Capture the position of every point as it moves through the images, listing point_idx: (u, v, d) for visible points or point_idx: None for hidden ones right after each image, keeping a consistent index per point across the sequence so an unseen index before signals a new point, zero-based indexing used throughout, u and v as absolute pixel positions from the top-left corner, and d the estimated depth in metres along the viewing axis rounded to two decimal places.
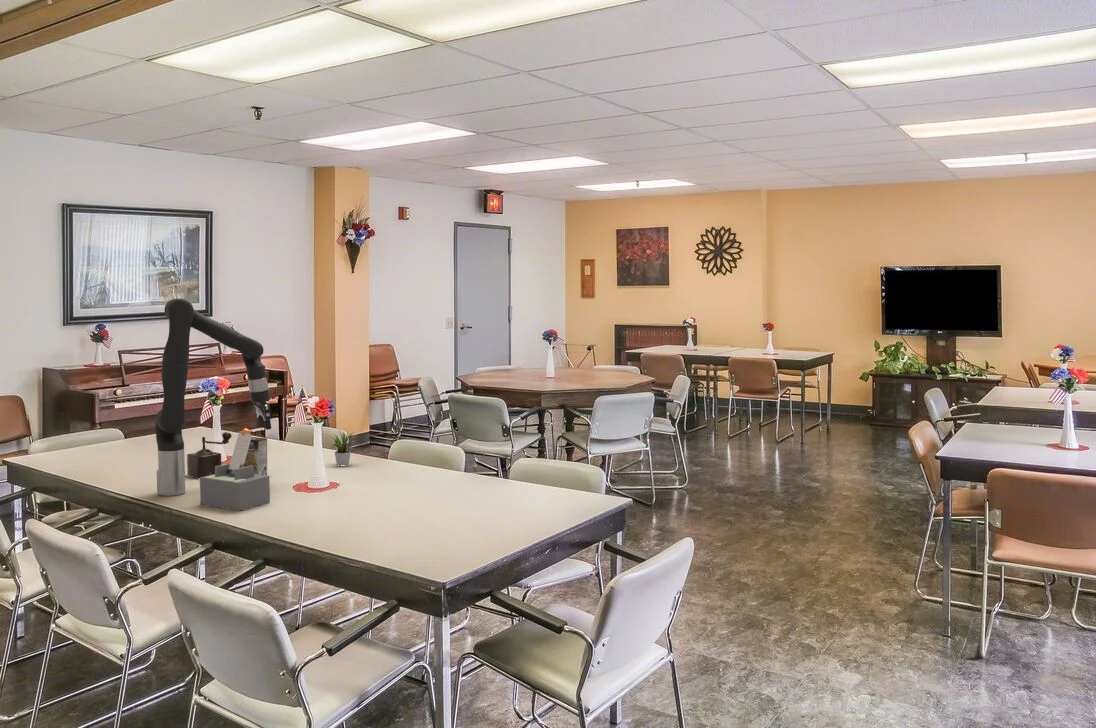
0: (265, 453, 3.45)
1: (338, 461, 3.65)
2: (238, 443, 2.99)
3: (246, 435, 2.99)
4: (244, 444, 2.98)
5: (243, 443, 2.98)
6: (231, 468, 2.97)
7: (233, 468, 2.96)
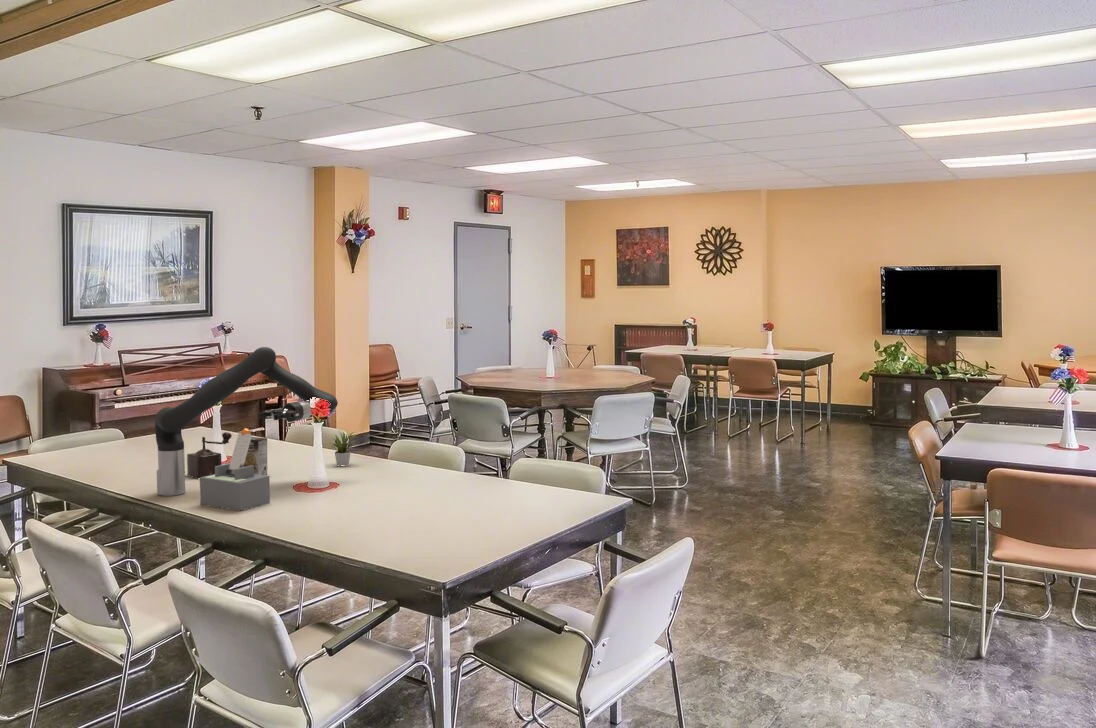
0: (265, 453, 3.45)
1: (338, 461, 3.65)
2: (238, 443, 2.99)
3: (246, 435, 2.99)
4: (244, 444, 2.98)
5: (243, 443, 2.98)
6: (231, 468, 2.97)
7: (233, 468, 2.96)
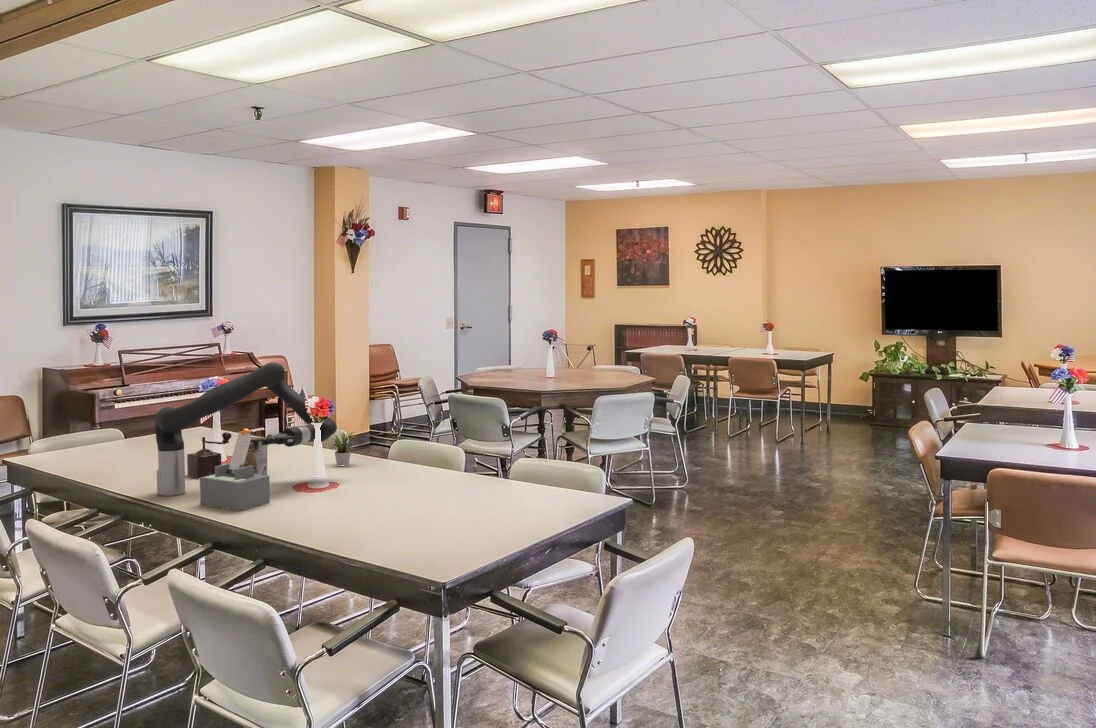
0: (265, 453, 3.45)
1: (338, 461, 3.65)
2: (238, 443, 2.99)
3: (246, 435, 2.99)
4: (244, 444, 2.98)
5: (243, 443, 2.98)
6: (231, 468, 2.97)
7: (233, 468, 2.96)
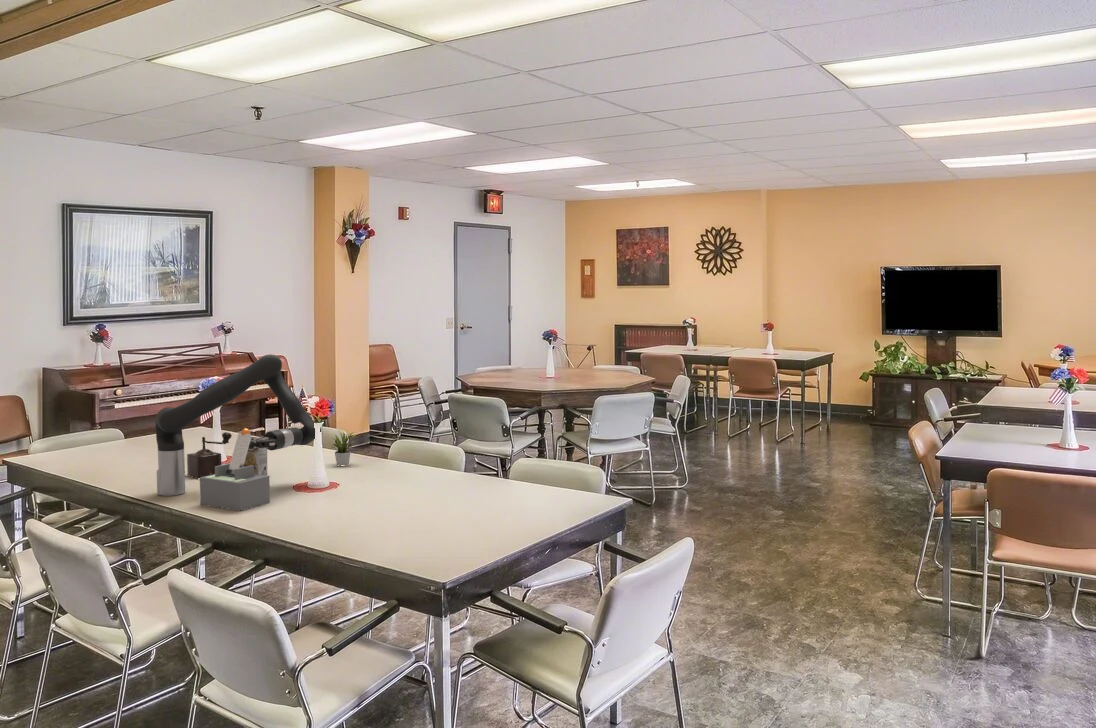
0: (265, 453, 3.45)
1: (338, 461, 3.65)
2: (238, 443, 2.99)
3: (246, 435, 2.99)
4: (244, 444, 2.98)
5: (243, 443, 2.98)
6: (231, 468, 2.97)
7: (233, 468, 2.96)
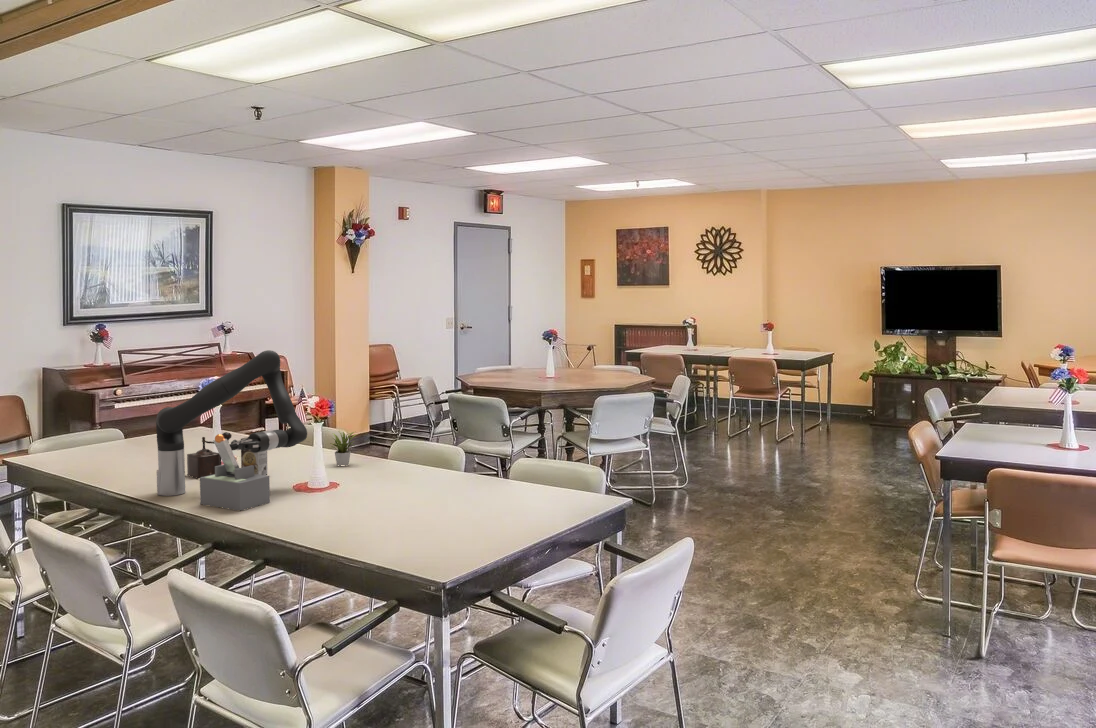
0: (265, 453, 3.45)
1: (338, 461, 3.65)
2: (220, 449, 2.92)
3: (222, 442, 2.89)
4: (226, 450, 2.90)
5: (224, 449, 2.90)
6: (229, 470, 2.96)
7: (231, 471, 2.95)
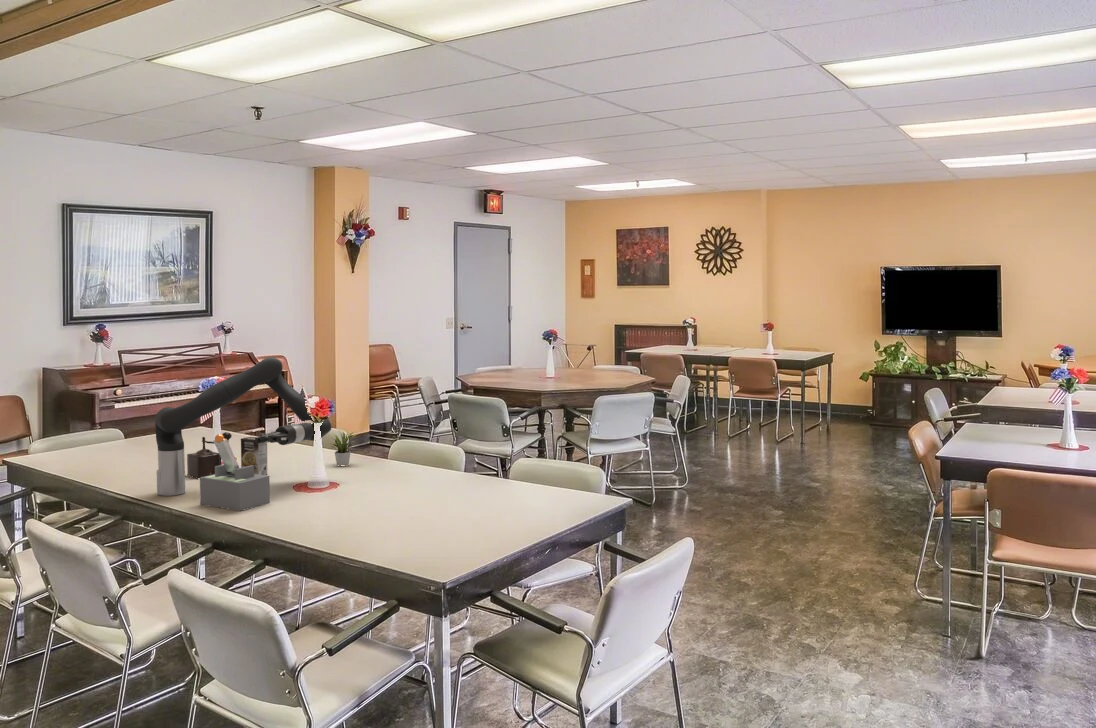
0: (265, 453, 3.45)
1: (338, 461, 3.65)
2: (220, 449, 2.92)
3: (222, 442, 2.89)
4: (226, 450, 2.90)
5: (224, 449, 2.90)
6: (229, 470, 2.96)
7: (231, 471, 2.95)
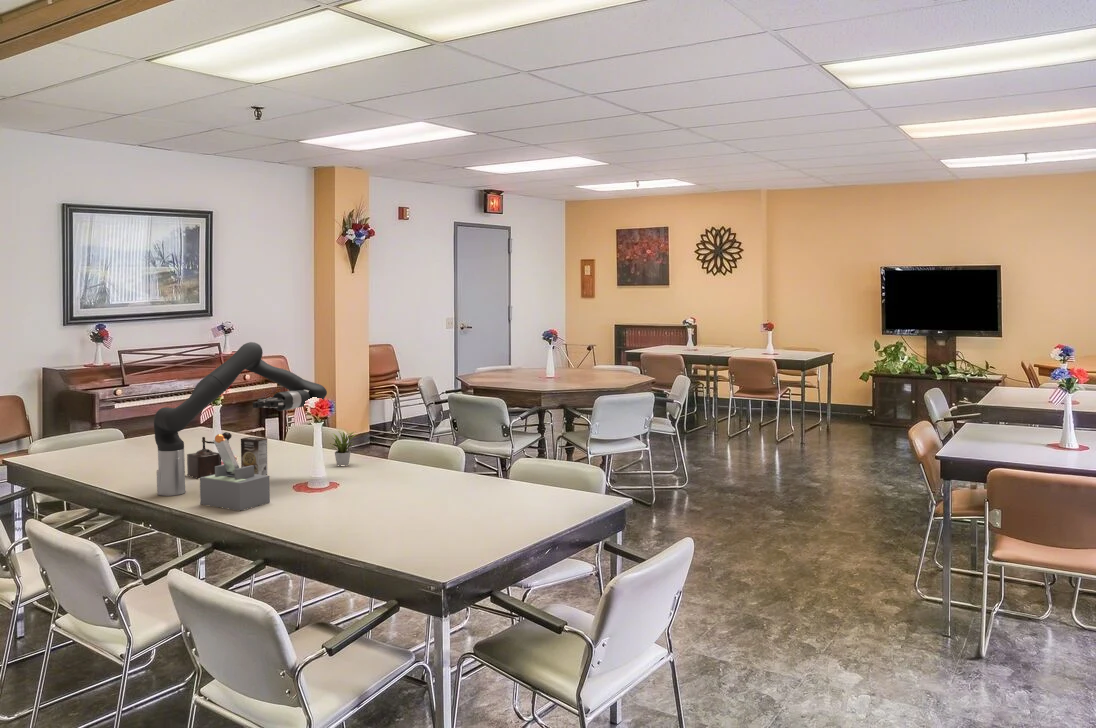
0: (265, 453, 3.45)
1: (338, 461, 3.65)
2: (220, 449, 2.92)
3: (222, 442, 2.89)
4: (226, 450, 2.90)
5: (224, 449, 2.90)
6: (229, 470, 2.96)
7: (231, 471, 2.95)
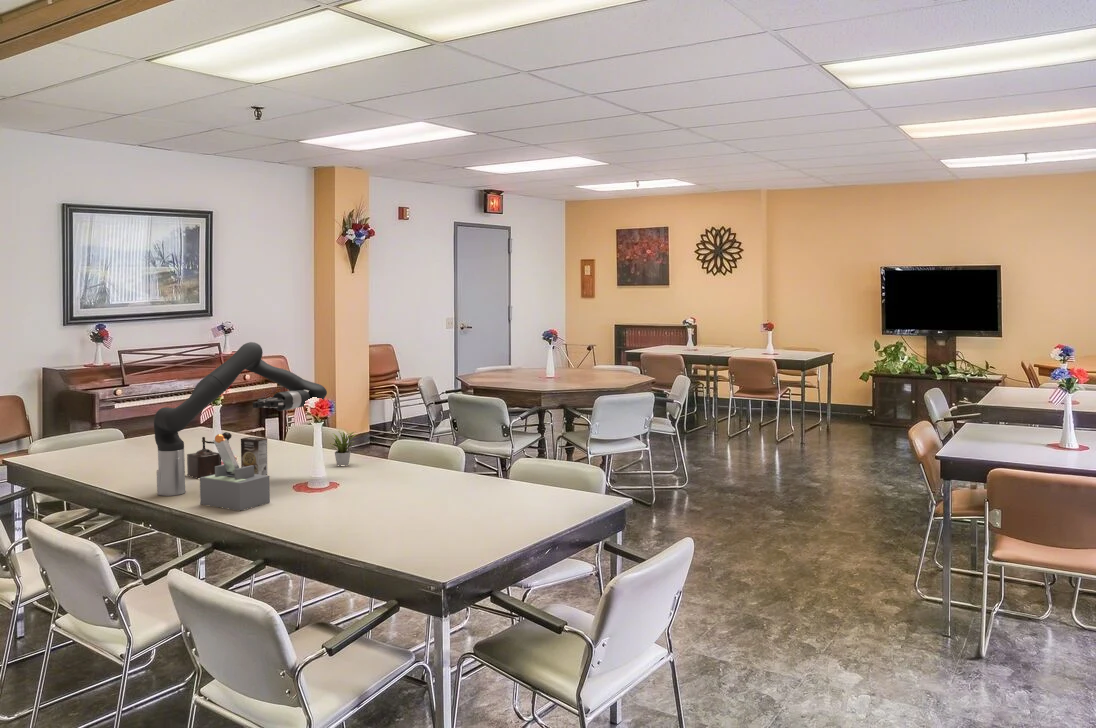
0: (265, 453, 3.45)
1: (338, 461, 3.65)
2: (220, 449, 2.92)
3: (222, 442, 2.89)
4: (226, 450, 2.90)
5: (224, 449, 2.90)
6: (229, 470, 2.96)
7: (231, 471, 2.95)
